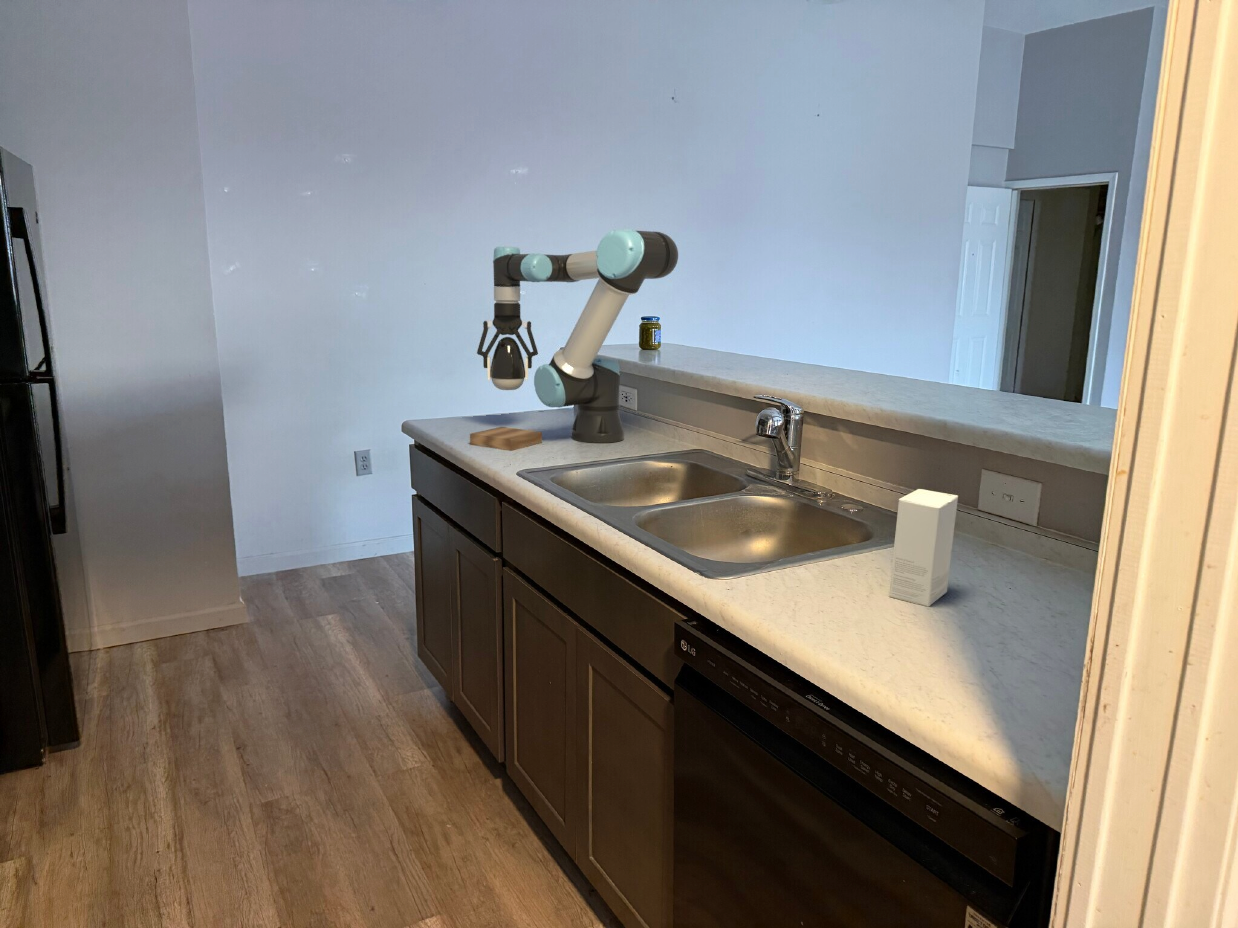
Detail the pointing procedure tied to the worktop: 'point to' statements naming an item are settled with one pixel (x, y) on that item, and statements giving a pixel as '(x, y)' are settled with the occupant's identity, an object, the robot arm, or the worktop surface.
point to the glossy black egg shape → (507, 365)
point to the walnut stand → (506, 438)
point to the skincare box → (923, 546)
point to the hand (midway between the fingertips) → (507, 379)
